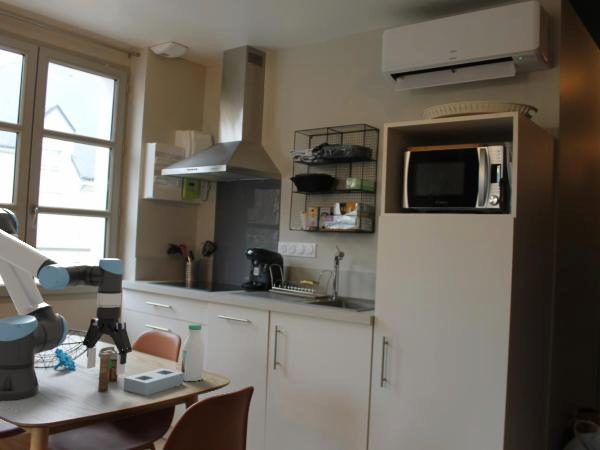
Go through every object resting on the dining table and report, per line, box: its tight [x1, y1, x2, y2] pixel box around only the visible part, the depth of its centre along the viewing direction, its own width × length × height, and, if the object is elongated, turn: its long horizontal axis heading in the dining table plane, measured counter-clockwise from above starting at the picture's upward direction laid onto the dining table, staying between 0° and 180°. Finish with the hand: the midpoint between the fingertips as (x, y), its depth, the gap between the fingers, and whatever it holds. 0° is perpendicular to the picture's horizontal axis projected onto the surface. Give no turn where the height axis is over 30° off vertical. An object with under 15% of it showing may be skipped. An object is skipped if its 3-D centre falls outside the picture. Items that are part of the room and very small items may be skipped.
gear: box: [53, 347, 77, 371], centre depth 205 cm, size 11×6×10 cm
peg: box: [97, 353, 110, 393], centre depth 181 cm, size 3×3×12 cm
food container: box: [97, 346, 119, 382], centre depth 196 cm, size 12×6×10 cm, turn 27°
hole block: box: [122, 367, 184, 396], centre depth 189 cm, size 18×10×4 cm, turn 151°
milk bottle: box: [180, 323, 205, 382], centre depth 202 cm, size 8×8×20 cm
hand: (105, 370), depth 181 cm, fingers open, 13 cm apart
